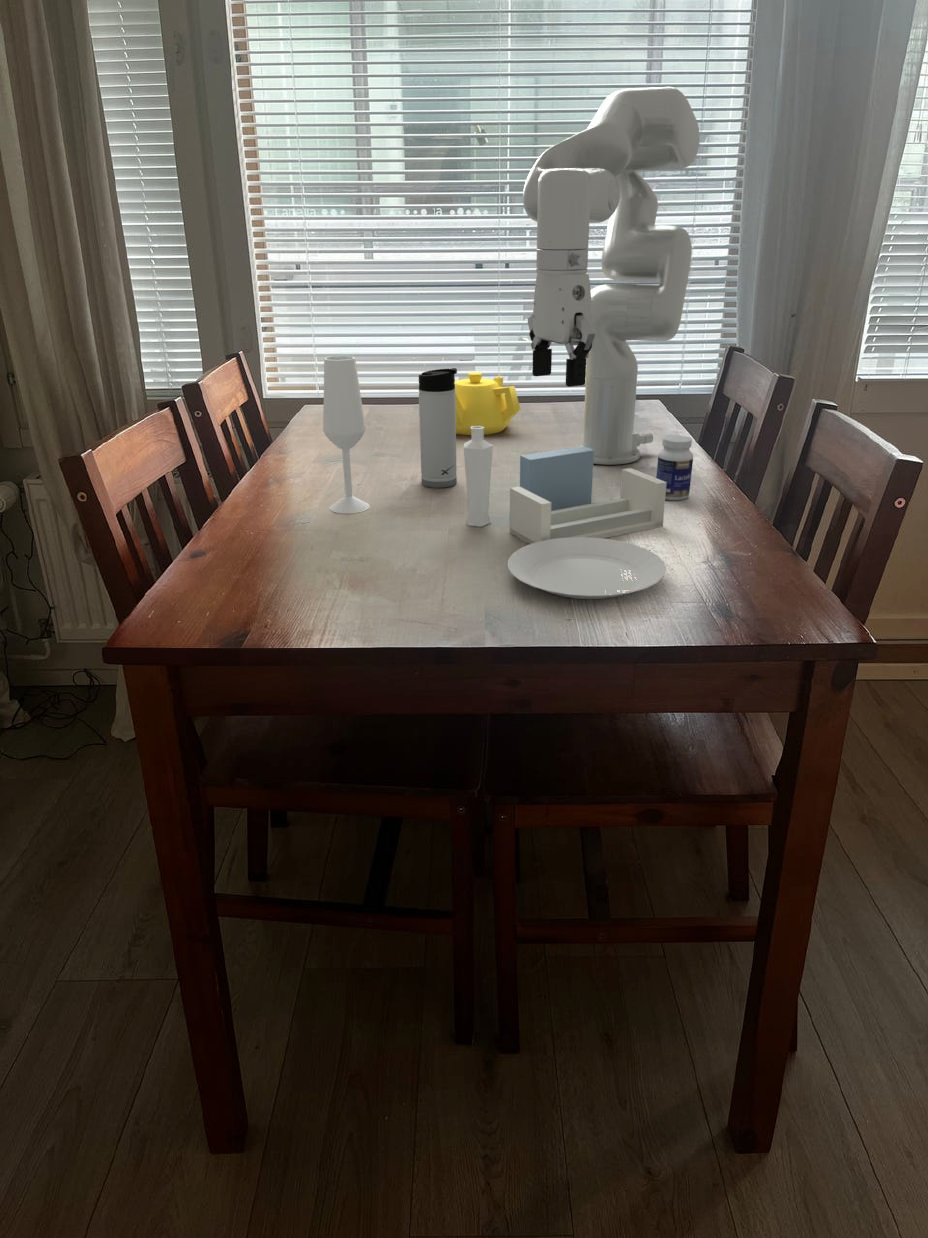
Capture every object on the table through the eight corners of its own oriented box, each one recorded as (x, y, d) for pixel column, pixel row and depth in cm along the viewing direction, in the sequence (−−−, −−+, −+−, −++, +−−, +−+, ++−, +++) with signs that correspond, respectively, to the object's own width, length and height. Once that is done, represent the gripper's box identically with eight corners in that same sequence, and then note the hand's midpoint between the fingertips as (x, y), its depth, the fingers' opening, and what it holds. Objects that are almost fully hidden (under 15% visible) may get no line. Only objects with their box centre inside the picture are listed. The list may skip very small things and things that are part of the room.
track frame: (627, 510, 147) (630, 467, 144) (662, 526, 140) (666, 482, 137) (509, 532, 138) (510, 487, 135) (540, 550, 131) (541, 504, 128)
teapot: (522, 435, 194) (523, 377, 189) (445, 440, 191) (444, 382, 186) (501, 418, 209) (502, 364, 204) (430, 422, 206) (429, 368, 201)
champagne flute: (321, 510, 149) (309, 360, 139) (341, 499, 154) (331, 353, 144) (358, 515, 146) (348, 362, 136) (377, 503, 152) (369, 355, 142)
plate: (554, 624, 110) (555, 607, 109) (482, 565, 127) (482, 550, 126) (697, 594, 117) (699, 578, 116) (610, 543, 134) (611, 528, 133)
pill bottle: (678, 503, 150) (683, 444, 146) (648, 496, 154) (652, 438, 150) (695, 495, 154) (701, 437, 150) (666, 489, 158) (671, 432, 153)
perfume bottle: (496, 519, 144) (496, 424, 138) (487, 528, 140) (487, 431, 134) (468, 516, 145) (467, 422, 139) (459, 525, 142) (458, 429, 135)
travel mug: (454, 489, 159) (452, 372, 150) (417, 487, 160) (413, 371, 152) (461, 479, 164) (460, 365, 156) (426, 477, 166) (422, 364, 157)
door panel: (581, 498, 153) (583, 446, 150) (591, 503, 151) (593, 450, 147) (519, 509, 149) (520, 455, 145) (528, 514, 146) (530, 459, 142)
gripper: (617, 264, 128) (610, 387, 136) (552, 257, 142) (549, 369, 150) (572, 266, 125) (567, 392, 133) (510, 259, 139) (509, 373, 147)
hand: (558, 380), depth 141 cm, fingers open, 9 cm apart
